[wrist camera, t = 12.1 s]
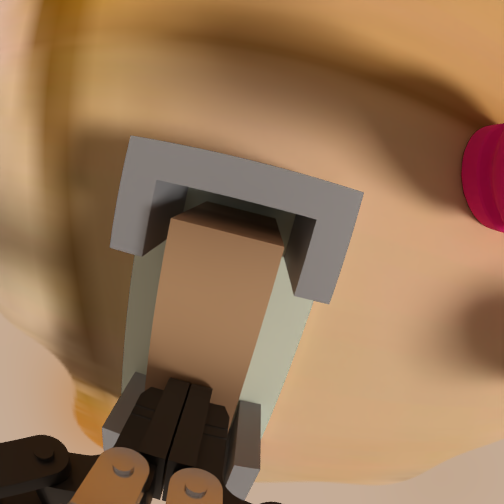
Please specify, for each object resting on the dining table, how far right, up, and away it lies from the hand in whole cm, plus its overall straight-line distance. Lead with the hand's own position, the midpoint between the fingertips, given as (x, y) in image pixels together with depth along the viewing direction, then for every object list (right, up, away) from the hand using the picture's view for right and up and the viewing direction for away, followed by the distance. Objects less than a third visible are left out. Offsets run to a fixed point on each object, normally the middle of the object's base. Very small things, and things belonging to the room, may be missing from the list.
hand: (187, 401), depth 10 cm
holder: (0, +2, +7) cm, 7 cm away
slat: (0, +1, +6) cm, 6 cm away
